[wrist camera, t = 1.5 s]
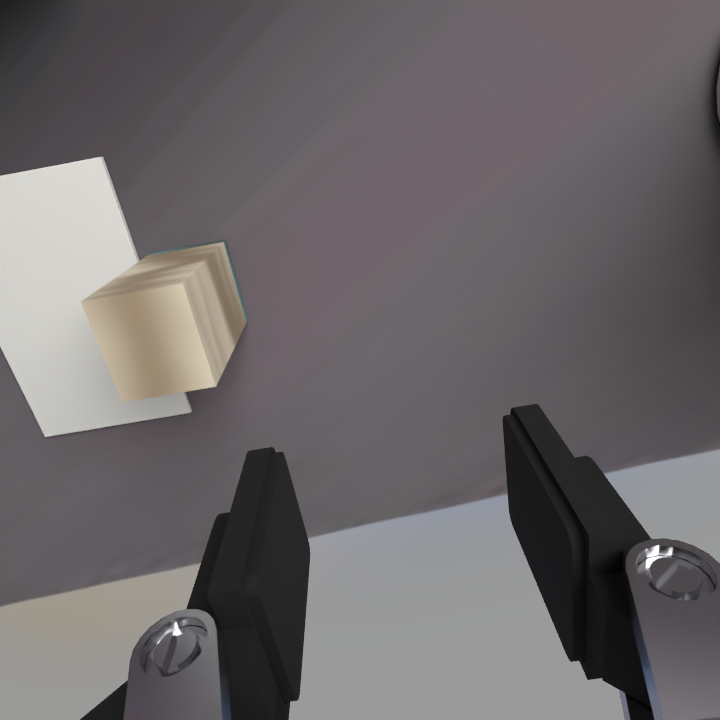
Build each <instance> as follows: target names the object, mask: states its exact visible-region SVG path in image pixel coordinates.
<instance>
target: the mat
mask: <svg viewBox="0 0 720 720" xmlns="http://www.w3.org/2000/svg"><path fill="white" fill-rule="evenodd" d="M138 262H139V258H138V255H137V252H136V249H135V247H134V244H133V241H132V238H131V235H130V232H129V229H128V227H127V224H126V221H125V218H124V215H123V212H122V209H121V207H120V204H119V201H118V198H117V195H116V192H115V190H114V187H113V184H112V181H111V178H110V175H109V172H108V170H107V167H106V164H105V161H104V158H103V157H97V158H92V159H87V160H82V161H76V162H71V163H66V164H61V165H56V166H50V167H45V168H40V169H35V170H29V171H24V172H19V173H14V174H8V175H3V176H0V347H1V349H2V351H3V353H4V355H5V357H6V359H7V361H8V363H9V365H10V367H11V369H12V371H13V373H14V375H15V377H16V379H17V381H18V383H19V385H20V387H21V389H22V391H23V393H24V395H25V397H26V399H27V401H28V403H29V405H30V407H31V409H32V411H33V413H34V415H35V417H36V419H37V421H38V423H39V425H40V428H41V430H42V432H43V434H44V436H45V437H49V436H55V435H61V434H67V433H73V432H79V431H85V430H91V429H97V428H102V427H108V426H114V425H120V424H126V423H132V422H138V421H144V420H150V419H156V418H162V417H168V416H174V415H180V414H186V413H191V411H192V409H191V406H190V403H189V400H188V398H187V395H186V392H181V393H175V394H170V395H164V396H158V397H152V398H146V399H140V400H134V401H128V402H122V401H121V398H120V396H119V394H118V391H117V389H116V386H115V384H114V381H113V379H112V377H111V374H110V372H109V369H108V367H107V364H106V362H105V360H104V357H103V355H102V352H101V350H100V347H99V345H98V342H97V340H96V338H95V335H94V333H93V330H92V328H91V325H90V323H89V321H88V318H87V316H86V313H85V311H84V308H83V306H82V304H81V301H82V300H84V299H85V298H87V297H88V296H90V295H91V294H93V293H94V292H96V291H97V290H98V289H100V288H101V287H103V286H104V285H106V284H107V283H109V282H110V281H111V280H113V279H114V278H116V277H117V276H119V275H120V274H122V273H123V272H125V271H126V270H127V269H129V268H130V267H132V266H133V265H135V264H136V263H138Z"/></svg>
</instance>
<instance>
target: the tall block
mask: <svg viewBox="0 0 720 720" xmlns="http://www.w3.org/2000/svg"><path fill="white" fill-rule="evenodd" d="M81 304H82V306H83V308H84V311H85V313H86V316H87V318H88V321H89V323H90V325H91V328H92V330H93V333H94V335H95V338H96V340H97V342H98V345H99V347H100V350H101V352H102V355H103V357H104V360H105V362H106V364H107V367H108V369H109V372H110V374H111V377H112V379H113V381H114V384H115V386H116V389H117V391H118V394H119V396H120V398H121V401H122V402H128V401H134V400H140V399H146V398H152V397H158V396H164V395H170V394H175V393H181V392H187V391H193V390H199V389H205V388H211V387H216V386H217V383H218V381H219V379H220V377H221V375H222V373H223V371H224V369H225V367H226V365H227V363H228V360H229V358H230V356H231V354H232V352H233V350H234V348H235V346H236V344H237V342H238V340H239V338H240V335H241V333H242V331H243V329H244V327H245V325H246V323H247V321H248V318H247V315H246V311H245V308H244V304H243V300H242V297H241V293H240V289H239V286H238V282H237V279H236V275H235V271H234V268H233V264H232V261H231V257H230V253H229V250H228V246H227V243H226V240H222V241H217V242H211V243H206V244H200V245H195V246H189V247H184V248H178V249H173V250H167V251H162V252H156V253H151V254H149V255H148V256H146V257H145V258H143V259H142V260H140V261H139V262H138V263H136V264H135V265H133V266H132V267H130V268H129V269H127V270H126V271H125V272H123V273H122V274H120V275H119V276H117V277H116V278H114V279H113V280H111V281H110V282H109V283H107V284H106V285H104V286H103V287H101V288H100V289H98V290H97V291H96V292H94V293H93V294H91V295H90V296H88V297H87V298H85V299H84V300H82V301H81Z"/></svg>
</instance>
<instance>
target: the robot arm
mask: <svg viewBox="0 0 720 720" xmlns="http://www.w3.org/2000/svg"><path fill="white" fill-rule="evenodd" d="M717 113H718V117H719V121H720V67H719V74H718V82H717ZM503 431H504V445H505V460H506V474H507V488H508V503H509V513H510V518H511V522H512V525H513V527H514V530H515V532H516V535H517V537H518V540H519V542H520V544H521V547H522V549H523V551H524V554H525V556H526V559H527V561H528V564H529V566H530V568H531V571H532V573H533V575H534V578H535V580H536V582H537V585H538V587H539V590H540V592H541V594H542V597H543V599H544V602H545V604H546V607H547V609H548V611H549V614H550V616H551V619H552V621H553V623H554V625H555V628H556V630H557V633H558V635H559V638H560V640H561V642H562V645H563V647H564V650H565V652H566V654H567V656H568V658H569V660H570V661H571V662H573V661H580V663H581V665H582V668H583V670H584V672H585V675H586V677H587V679H588V680H590V679H597V678H602V679H603V681H605V682H607V683H609V684H610V685H612V686H614V687H616V688H617V689H619V690H620V697H621V702H622V707H623V712H624V718H625V720H720V564H719V563H718V562H717V561H716V560H715V559H714V558H713V557H711V556H710V555H709V554H708V553H706V552H704V551H703V550H701V549H699V548H697V547H695V546H693V545H690V544H687V543H684V542H681V541H677V540H670V539H651V538H650V537H649V535H648V534H647V532H646V531H645V530H644V528H643V527H642V526H641V524H640V523H639V522H638V520H637V519H636V518H635V516H634V515H633V513H632V512H631V511H630V509H629V508H628V507H627V505H626V504H625V503H624V501H623V500H622V498H621V497H620V496H619V494H618V493H617V492H616V490H615V489H614V488H613V486H612V485H611V484H610V482H609V481H608V479H607V478H606V477H605V475H604V474H603V473H602V471H601V470H600V469H599V467H598V466H597V465H596V463H595V462H594V461H593V460H592V459H591V458H590V457H588V456H583V457H576V458H574V456H573V455H572V453H571V452H570V450H569V449H568V447H567V446H566V444H565V443H564V442H563V440H562V439H561V437H560V436H559V434H558V433H557V431H556V430H555V428H554V427H553V426H552V424H551V423H550V421H549V420H548V418H547V417H546V415H545V414H544V412H543V411H542V410H541V408H540V407H539V405H538V404H533V405H527V406H521V407H515V408H512V409H511V412H510V415H506V416H503ZM309 564H310V548H309V542H308V538H307V534H306V530H305V527H304V523H303V520H302V516H301V513H300V509H299V505H298V502H297V498H296V495H295V491H294V487H293V484H292V480H291V477H290V473H289V469H288V466H287V462H286V459H285V455H284V453H283V452H278V453H276V452H275V450H274V448H273V447H269V448H263V449H257V450H251V451H248V453H247V455H246V459H245V462H244V465H243V469H242V472H241V476H240V479H239V483H238V486H237V490H236V493H235V497H234V500H233V504H232V507H231V510H230V512H229V513H222V514H219V515H218V516H217V517H216V519H215V522H214V525H213V528H212V531H211V534H210V537H209V540H208V544H207V547H206V550H205V553H204V556H203V559H202V562H201V565H200V569H199V572H198V575H197V578H196V581H195V584H194V587H193V591H192V594H191V597H190V600H189V603H188V606H187V609H186V610H181V611H177V612H174V613H172V614H170V615H168V616H166V617H163V618H162V619H160V620H159V621H158V622H156V623H155V624H154V625H152V626H151V627H150V628H149V629H148V630H147V631H146V632H145V633H144V634H143V636H142V637H141V638H140V639H139V641H138V643H137V644H136V646H135V648H134V649H133V652H132V656H131V659H130V665H129V675H128V681H126V682H125V683H124V684H123V685H121V686H120V687H119V688H118V689H117V690H115V691H114V692H113V693H112V694H111V695H109V696H108V697H107V698H106V699H104V700H103V701H102V702H101V703H100V704H99V705H97V706H96V707H95V708H94V709H92V710H91V711H90V712H89V713H88V714H86V715H85V716H84V717H83V718H81V719H80V720H288V718H289V708H290V701H297V700H298V698H299V694H300V683H301V669H302V656H303V642H304V630H305V617H306V603H307V591H308V577H309Z"/></svg>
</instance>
